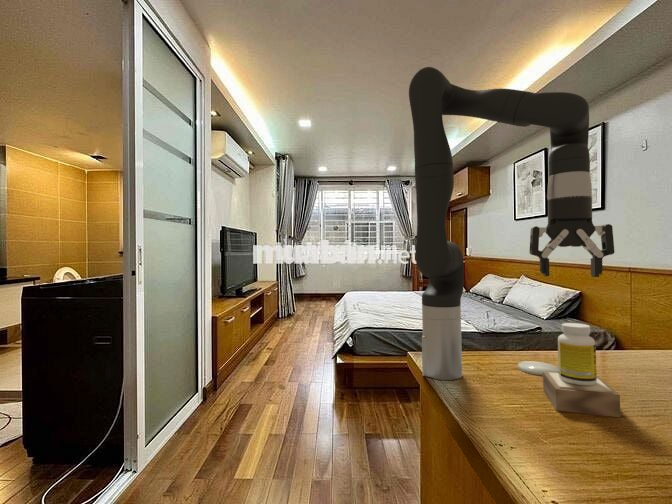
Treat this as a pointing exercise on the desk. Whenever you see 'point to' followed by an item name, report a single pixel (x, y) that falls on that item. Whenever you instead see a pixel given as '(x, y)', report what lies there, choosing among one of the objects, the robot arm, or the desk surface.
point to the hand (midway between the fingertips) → (570, 276)
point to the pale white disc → (537, 367)
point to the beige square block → (581, 396)
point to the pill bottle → (577, 355)
